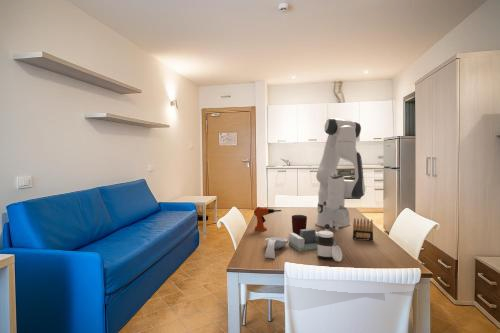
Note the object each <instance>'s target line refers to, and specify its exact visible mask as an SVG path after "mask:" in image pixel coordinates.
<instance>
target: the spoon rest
mask: <svg viewBox="0 0 500 333" xmlns="http://www.w3.org/2000/svg"><path fill="white" fill-rule="evenodd" d="M264 240H265V242H266V244H267V245H266V250H265V255H264V258H266V259H276V252H275V249H277V250H278V249H281V248H283V247H285V246H286V245H287V244H288V242H289V241H288V240H289V239H287V238H284V237H280V236H279V237H278V236H277V237H276V236H274V237H266V238H265V239H264Z"/></svg>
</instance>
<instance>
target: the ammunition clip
mask: <svg viewBox="0 0 500 333" xmlns="http://www.w3.org/2000/svg"><path fill="white" fill-rule="evenodd" d="M353 238H356V239H355V240H358V239H369V240H368V241H370V240H373V241H374V223H373V219H370V220H369V218H367V219H366V218H364V219H363V218H360V219H359V218H358V217H357V220H356V218H355V217H354V219H353V226H352V239H353Z"/></svg>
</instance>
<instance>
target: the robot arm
mask: <svg viewBox="0 0 500 333" xmlns="http://www.w3.org/2000/svg"><path fill="white" fill-rule="evenodd" d="M324 132H325V133H326V134H327V138H326V141H325V145H324V149H323V154H322V158H321V161H320V164H319V165H318V170H317V172H316V175H315V176H316V180H317V182H319V188H318V194H317V195H318V202H317V215H316V217H317V218H316V221H315V225H316V226H319V227H322V228H324V225H325V224H329V225H330V228H331V229H333V230H335V231H338V230H339V228H341V227H347V226H350V225H351V224H350V223H351V220H350V211H349V209H348V208H347V207H346V206H345V205H346V203H345V200H346V199H345V197H346V198H352V199H358V200H359V199H362V197H364V196H365V194H366V186H365V180H364V172H363V171H364V170H363V161H362V156H361V154H360V152H358V151H357V148H356V146H357V138H358V137H359V136H360V134H361V132H362V126H361V124H360V123H358V122H356V121H351V120H348V119H342V118H341V119H340V118H334V117H333V118H332V117H330V118H328V119H326V122H325V123H324ZM341 159H342V160H345V161H346V162H350V163H351V164H353V168H354V179H345V176H344V175H343V174H340V173H338V171H337V168H338V165H339V163H340V161H341Z"/></svg>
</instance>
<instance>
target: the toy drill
mask: <svg viewBox="0 0 500 333" xmlns="http://www.w3.org/2000/svg"><path fill="white" fill-rule="evenodd" d="M278 212H282V209H274V208H267V207H260V206H257V207H256V208H255V209H254V210H253V214H254V216H255V217H256V226H255V227H254V230H255V231H257V232H266V231H267V230H268V228H267V227H265V225H264V223H265V222H266V219H265V217H264V216H267V215H270V214H274V213H278Z"/></svg>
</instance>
